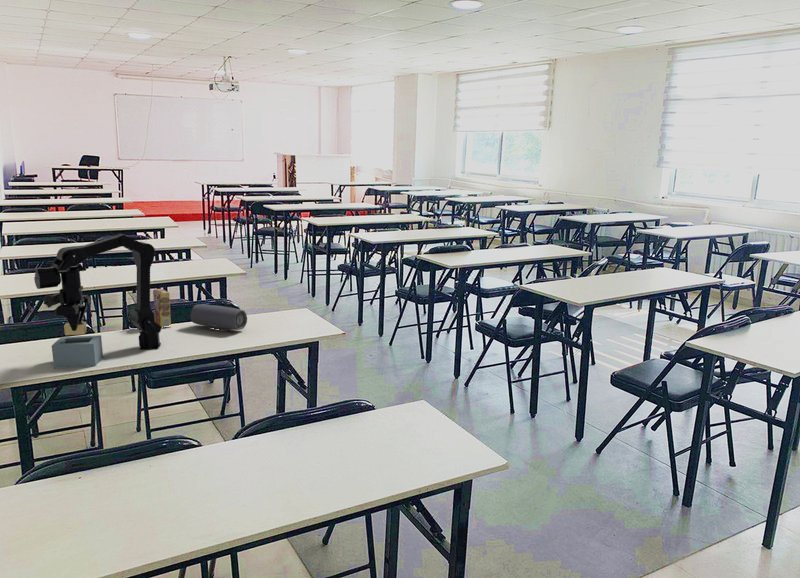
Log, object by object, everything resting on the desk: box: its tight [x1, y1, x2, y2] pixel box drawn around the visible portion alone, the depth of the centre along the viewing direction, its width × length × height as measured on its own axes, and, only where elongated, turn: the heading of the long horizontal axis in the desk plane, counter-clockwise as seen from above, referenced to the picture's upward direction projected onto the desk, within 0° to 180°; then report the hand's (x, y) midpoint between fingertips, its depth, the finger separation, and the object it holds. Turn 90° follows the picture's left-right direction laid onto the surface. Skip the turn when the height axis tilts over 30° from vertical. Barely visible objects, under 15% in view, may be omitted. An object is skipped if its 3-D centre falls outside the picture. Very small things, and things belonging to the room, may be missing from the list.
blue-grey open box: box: [51, 334, 104, 369], centre depth 209 cm, size 13×10×8 cm
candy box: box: [152, 288, 172, 327], centre depth 255 cm, size 9×4×15 cm, turn 39°
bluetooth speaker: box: [189, 303, 248, 332], centre depth 251 cm, size 23×9×10 cm, turn 68°
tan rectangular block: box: [63, 321, 88, 336], centre depth 207 cm, size 6×4×4 cm, turn 104°
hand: (75, 329), depth 208 cm, fingers closed on tan rectangular block, 3 cm apart
